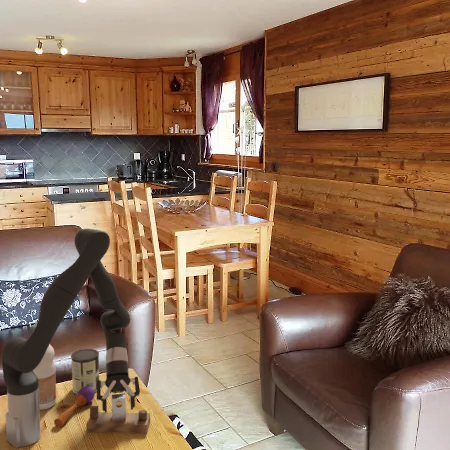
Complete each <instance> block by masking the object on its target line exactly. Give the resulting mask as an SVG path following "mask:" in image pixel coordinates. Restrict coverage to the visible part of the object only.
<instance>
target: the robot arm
mask: <svg viewBox="0 0 450 450" xmlns="http://www.w3.org/2000/svg"><path fill="white" fill-rule="evenodd" d="M110 244H111V238H110V235H109V233H108V232H106V231H104V230H101V229H94V228H83V229H80V230H78V232H77V233H76V234H75V236H74V246H75V249H76V251H77V253H78V255H79V256H78V257H77V259H76V260H75V261H74V262H73V263H72V264H71V265H70V266H69V267H68V268H66V269H64V270H63V271H62V272H61V273H60V274H58V276H56V277H55V278H54V280H53V281H52V282H51V283H50V285H49V287H48V288H47V290H46V291H45V293H44V295H43V296H42V298H41V302H40V306H39V312H38V313H39V315H38V321H37V323H36V326H35V328H34V331H32V333H31V335H30V336H29V338H28V339H27V338H24V337H20V336H16V337H13V338H11V339H9V340H8V341H7V342H6V343H5V345H4V346H3V348H2V352H1V365H2V375H3V382H4V385H5V386H6V394H7V395H6V396H7V409H8V410H7V412H5V427H6V428H5V429H6V441H7V442H8V443H9V444H11V445H12V446H13V447H14V448H15V449H18V448H20V447H27V446H30V445H33V444H35V443H37V442H38V441H39V440H40V439H41V433H42V431H41V412H40V411H41V410H40V405H39V382H38V377H37V376H36V375H35V373H34V372H33V370H34V369H35V368H36V367H37V366H38V365H39V363H40V362H41V360H42V358H43V357H44V355H45V352H46V350H47V348H48V346H49V344H50V345H51V342H52V340H53V338H54V336H55V334H56V332H57V330H58V328H59V327H60V325H61V323H62V322H63V319H64V318H65V316H66V315H67V313H68V311H69V310H70V308H71V306H72V305H73V304H74V302H75V300H76V299H77V297H78V295H79V293H80V291H81V290H82V288H83V287H84V285H85V284H86V282H87V280H88V279H89V277H90V279H91V282H92V284H93V286H94V289H95V294H96V296H97V299H98V302H99V306H100V307H101V308H102V309H105V310H109V311H105V312H103V313H102V314H101V316H100V325H101V328H102V331H103V334H104V337H105V348H106V350H105V352H106V353H105V374H106V377H105V378H106V379H105V380H104V381H103V380H100V379H99V380H98V381H97V391H96V401H101V403H102V404H101V407H102V411H103V412H105V413H106V412H107V413H108V409H107V408H108V407H107V406H108V405H107V404H108V403H107V399H108V398H109V396H110V395H112V394H123V393H125V394H127V395H128V396H129V397H130V398H129V401H130V402H129V404H130V410H134V408H136V407H135V406H136V400H135V399H136V397H139V396H140V394H141V393H140V392H141V391H140V382H139V377H138V376H135V377H131V378H130V376H129V375H130V374H129V359H128V358H129V357H128V356H129V355H128V352H127V338H126V337H127V336H126V335H125V334H124V333H122V332H113V331H115V330H121V329H125V328H128V326H129V325H130V322H131V317H130V314H129V312H128V310H127V308H126V307H125V305H124V304H123V303H122V300H121V299H120V296H119V293H118V290H117V287H116V284H115V282H114V280H113V278H112V277H111V275H110V273H109V272H108V271H107V269H106V268H105V266H104V265H103V262H102V261H101V260H102V259H103V257H104V256H105V255H106V254H107V252H108V250H109V248H110ZM130 383H131V384H132V385H134V390H135V391H133V390H132V389H131V387H130V386H129V385H130ZM104 386H106V388H107V389H106V391H105V393H104V394H103V395H101V392H102V391H101V389H103V388H104Z"/></svg>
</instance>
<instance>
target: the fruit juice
mask: <svg viewBox="0 0 450 450" xmlns="http://www.w3.org/2000/svg"><path fill="white" fill-rule="evenodd" d="M34 330H35V329H34ZM34 330H33V331H34ZM33 331H32V332H33ZM54 358H55V350H54V347H53V346H52V345H51V343H50V344H49V346H48V348H47V350H46V352H45V355H44V357H43V358H42V360H41V362H40V363H39V365H38V366H37V367H36V368H35V369H34V370H33V372H34V373H35V375H36V376H37V377H38V382H39V405H40V411H41V410H47V409H50V408H51V407H53V406H55V404H56V403H57V381H56V379H57V378H56V377H57V376H56V364H55V361H54Z"/></svg>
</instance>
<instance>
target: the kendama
mask: <svg viewBox="0 0 450 450" xmlns="http://www.w3.org/2000/svg"><path fill="white" fill-rule="evenodd" d="M76 395H77V396H76V397H75V401H74V404H73V405H72V406H70V407H69V408H68V409H66V410H65V411H64V412H63V413H62V414H60V415H59V416H57V417H56V418H55V419H54V420H53V423H54V426H56V427H57V428H62V427H63V426H64V424H65V423H66V422H67V420H68V419H69V418H70V416H71V415H72V414H73V412H74V411H75V410H76V409H77V408H78V407H80V406H85V405H86V404H90V402H92V401H93V400H94V398H95V392H94V390H93V389H92V388H91V387H89V386H86V387H82V388H81V389H80V390H79V392H78V394H76Z"/></svg>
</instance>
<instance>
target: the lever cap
mask: <svg viewBox="0 0 450 450" xmlns="http://www.w3.org/2000/svg"><path fill="white" fill-rule="evenodd" d="M126 398H127V397H126V392H123V393H113V394H111V413H112V422H114V421H122V420H126V413H127V412H126V410H127V408H126V407H127V401H126Z"/></svg>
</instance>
